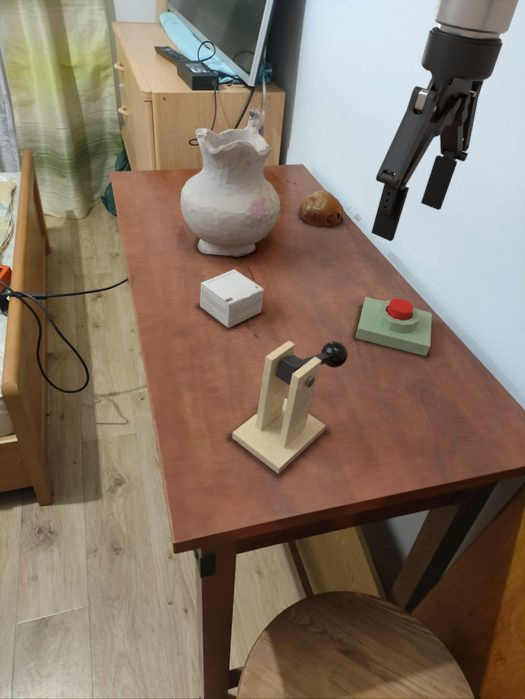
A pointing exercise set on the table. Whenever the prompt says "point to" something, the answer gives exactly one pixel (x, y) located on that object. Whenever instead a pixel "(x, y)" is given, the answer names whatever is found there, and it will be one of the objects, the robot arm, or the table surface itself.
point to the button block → (395, 328)
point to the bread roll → (321, 209)
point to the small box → (231, 298)
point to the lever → (330, 355)
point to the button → (400, 309)
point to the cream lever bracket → (282, 413)
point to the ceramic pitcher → (231, 190)
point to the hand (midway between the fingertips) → (408, 220)
